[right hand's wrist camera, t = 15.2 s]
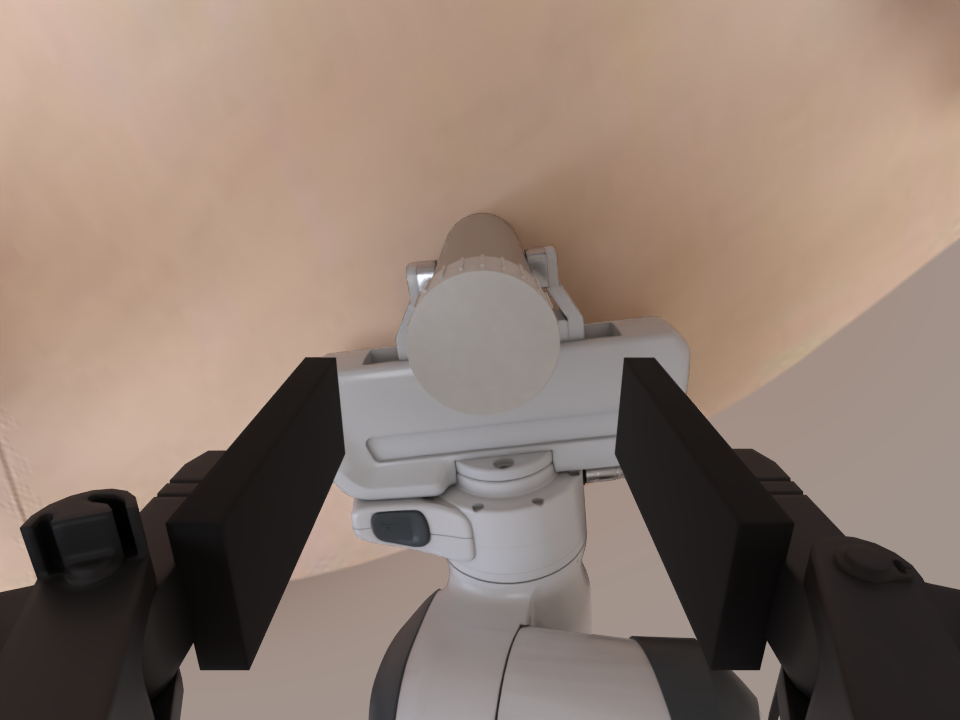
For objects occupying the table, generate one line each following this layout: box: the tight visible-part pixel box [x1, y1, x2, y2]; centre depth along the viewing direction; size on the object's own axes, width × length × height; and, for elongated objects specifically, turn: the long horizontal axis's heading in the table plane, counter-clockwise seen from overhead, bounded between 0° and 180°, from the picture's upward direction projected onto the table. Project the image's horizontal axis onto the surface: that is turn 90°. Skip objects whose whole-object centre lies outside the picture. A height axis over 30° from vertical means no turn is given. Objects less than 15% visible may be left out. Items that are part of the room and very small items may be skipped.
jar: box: [432, 213, 533, 278], centre depth 26 cm, size 5×5×17 cm
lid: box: [406, 254, 560, 416], centre depth 19 cm, size 5×5×2 cm
